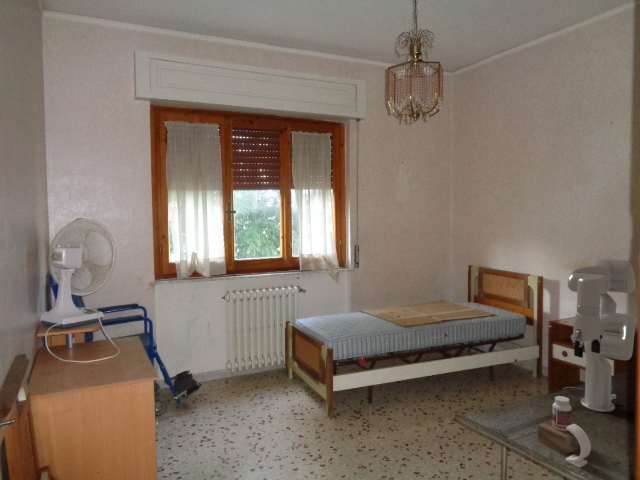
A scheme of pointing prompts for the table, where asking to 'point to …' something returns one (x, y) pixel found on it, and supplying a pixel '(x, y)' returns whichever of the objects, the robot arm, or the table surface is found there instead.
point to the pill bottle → (561, 413)
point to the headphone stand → (584, 446)
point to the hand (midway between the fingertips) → (587, 354)
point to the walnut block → (557, 438)
